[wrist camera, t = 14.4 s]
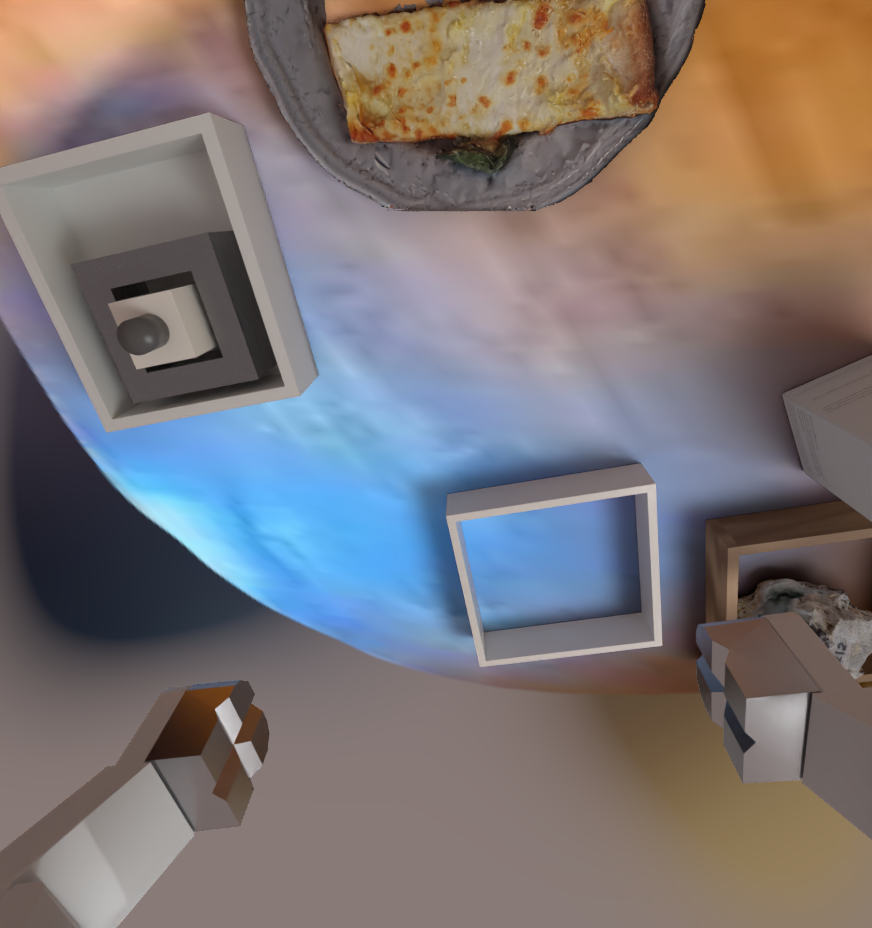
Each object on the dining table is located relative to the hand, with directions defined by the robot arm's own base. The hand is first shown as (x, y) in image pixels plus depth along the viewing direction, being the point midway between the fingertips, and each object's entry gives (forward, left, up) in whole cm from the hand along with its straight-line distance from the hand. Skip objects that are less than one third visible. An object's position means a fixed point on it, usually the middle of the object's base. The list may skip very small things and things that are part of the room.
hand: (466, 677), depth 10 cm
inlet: (-5, -18, -31) cm, 36 cm away
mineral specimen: (+29, +23, -31) cm, 48 cm away
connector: (-5, -18, -30) cm, 36 cm away
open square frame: (+20, +4, -31) cm, 37 cm away
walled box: (-7, -18, -31) cm, 37 cm away
